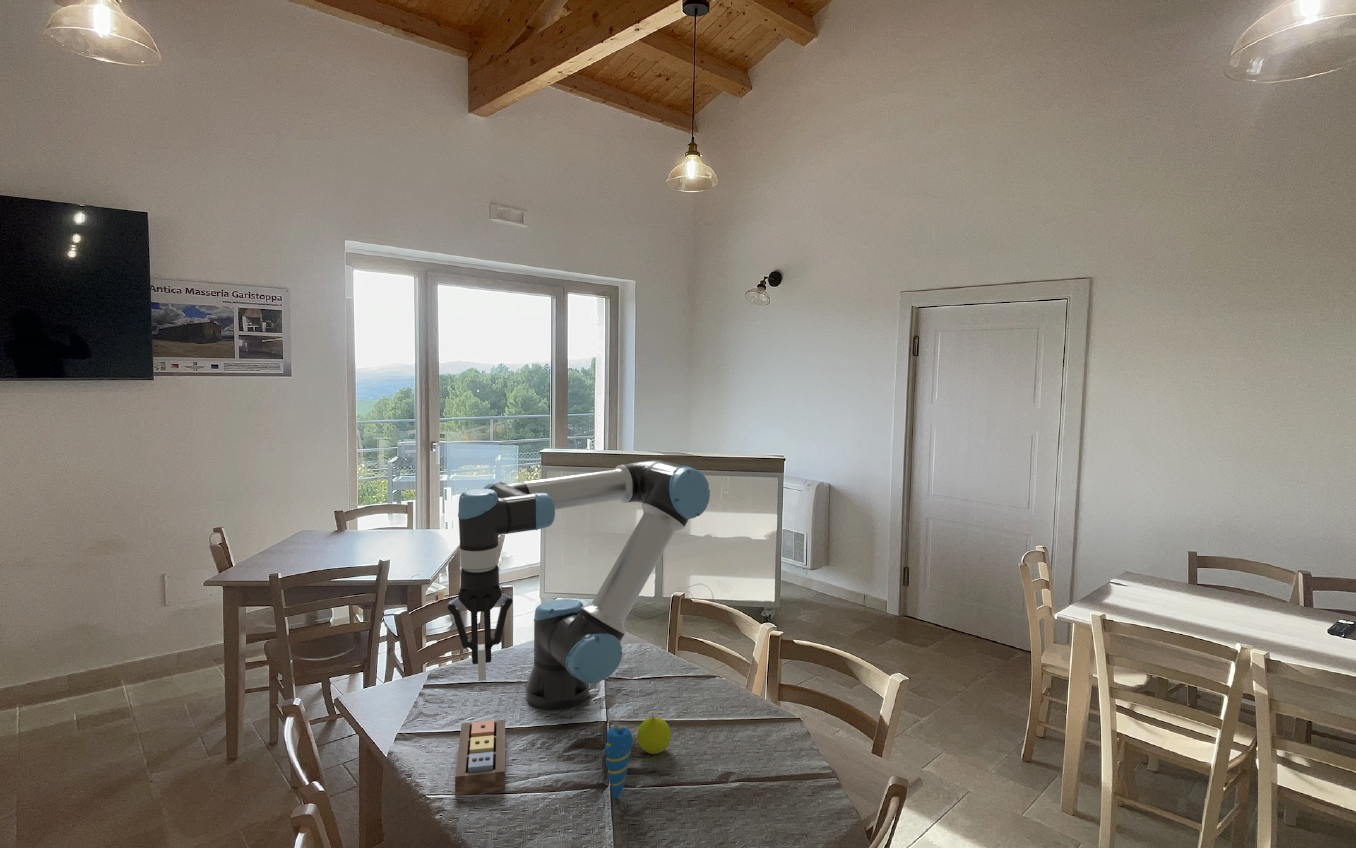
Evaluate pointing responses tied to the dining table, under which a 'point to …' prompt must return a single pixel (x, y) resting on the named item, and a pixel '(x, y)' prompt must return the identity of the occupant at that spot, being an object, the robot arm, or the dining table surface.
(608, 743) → the ornament
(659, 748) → the yellow pointed oval
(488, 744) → the tile two
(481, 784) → the key strip
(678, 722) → the dining table surface
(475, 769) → the tile three
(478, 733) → the tile one
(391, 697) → the dining table surface
